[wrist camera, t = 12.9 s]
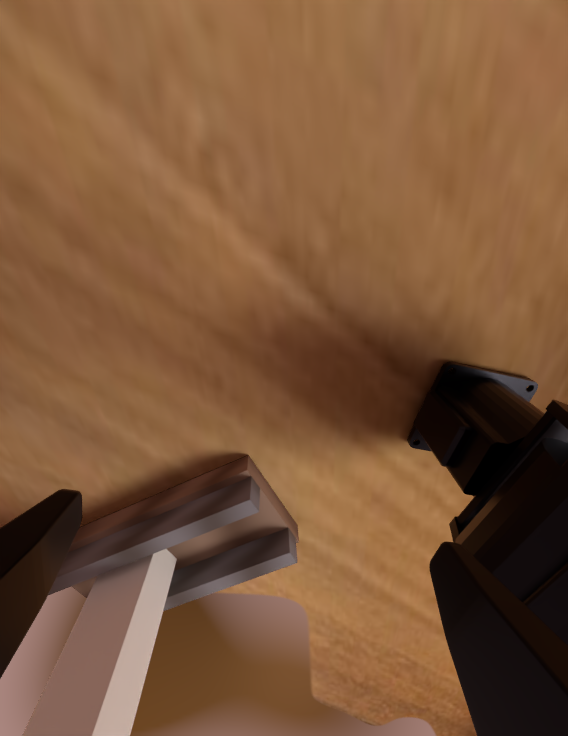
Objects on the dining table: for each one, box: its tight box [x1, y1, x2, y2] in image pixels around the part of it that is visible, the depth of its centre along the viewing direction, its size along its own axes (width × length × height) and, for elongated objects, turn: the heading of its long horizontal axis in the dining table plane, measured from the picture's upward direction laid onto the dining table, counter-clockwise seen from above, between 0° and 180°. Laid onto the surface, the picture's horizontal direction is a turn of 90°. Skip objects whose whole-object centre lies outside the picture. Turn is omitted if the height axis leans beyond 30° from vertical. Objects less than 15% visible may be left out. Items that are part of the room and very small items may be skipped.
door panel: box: [23, 549, 177, 736], centre depth 20 cm, size 5×2×13 cm, turn 117°
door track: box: [48, 455, 299, 611], centre depth 25 cm, size 18×8×4 cm, turn 116°
